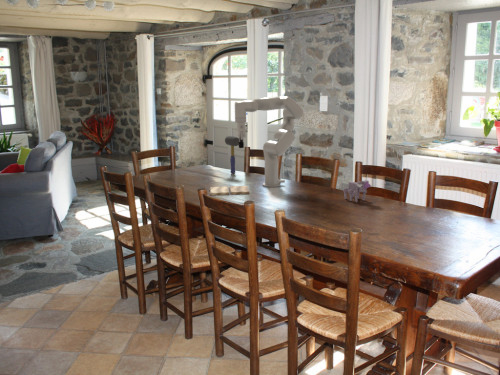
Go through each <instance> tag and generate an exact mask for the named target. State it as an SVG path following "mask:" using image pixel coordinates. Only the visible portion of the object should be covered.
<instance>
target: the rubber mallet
mask: <svg viewBox="0 0 500 375" xmlns="http://www.w3.org/2000/svg"><path fill="white" fill-rule="evenodd" d="M224 143H225V144H226V145H227V146H230V159H229V160H230V174H231V175H235V174H236V157H235V147H237V146H238V147H239V137H238V136H233V135H232V136H231V135H227V136H226V137H225V139H224Z"/></svg>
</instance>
